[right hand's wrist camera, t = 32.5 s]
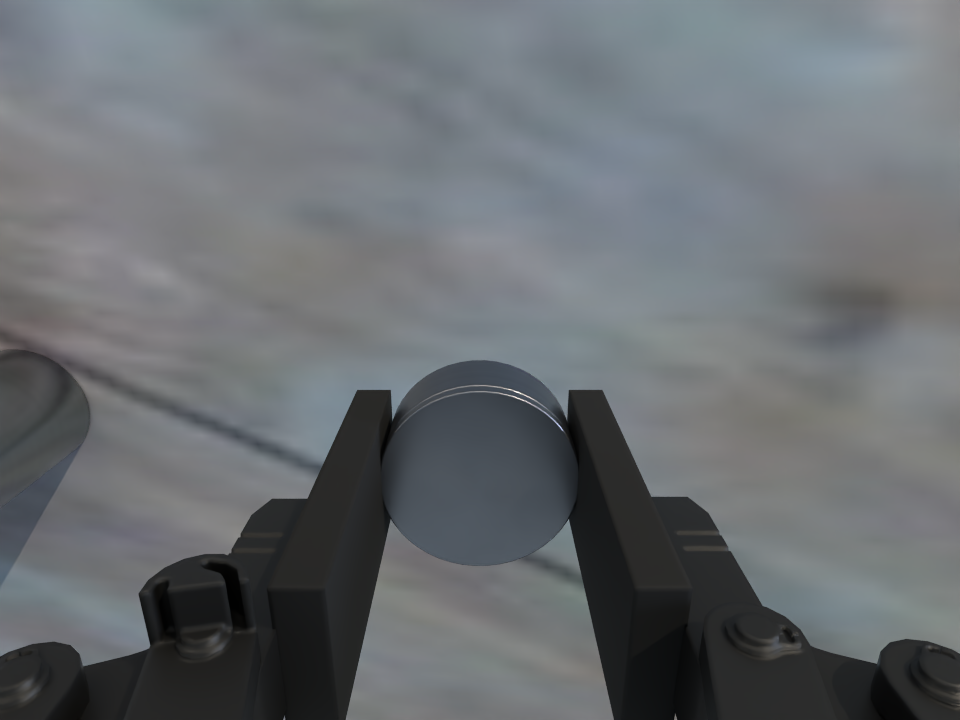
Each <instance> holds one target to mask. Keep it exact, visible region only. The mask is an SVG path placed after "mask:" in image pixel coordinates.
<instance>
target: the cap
mask: <svg viewBox="0 0 960 720" xmlns="http://www.w3.org/2000/svg"><path fill="white" fill-rule="evenodd" d="M578 475H579V462H578V459H577V455H576V451H575V448H574V444H573V441H572V437H571V434H570V431H569V427H568V424H567V420H566V417H565V415H564V412H563V410H562V407H561V406H560V404H559V402H558V401H557V399H556V398H555V396H554V395H553V394H552V393H551V391H550V390H549V389H548V388H547V387H546V386H545V385H544V384H543V383H542V382H540V381H539V380H538V379H536V378H535V377H534V376H532V375H531V374H529V373H527V372H525V371H523V370H521V369H519V368H516V367H514V366H511V365H508V364H504V363H500V362H494V361H485V360H482V361H466V362H459V363H456V364H452V365H448V366H446V367H443V368H441V369H438V370H436V371H434V372H433V373H431V374H429V375H427V376H426V377H425V378H423V379H422V380H421V381H419V382H418V383H417V384H416V385H415V386H414V387H413V388H412V389H411V390H410V391H409V392H408V393H407V395H406V396H405V397H404V398H403V400H402V401H401V403H400V405H399V407H398V409H397V411H396V413H395V416H394V419H393V422H392V425H391V429H390V432H389V435H388V439H387V442H386V446H385V449H384V453H383V456H382V461H381V482H382V497H383V503H384V505H385V508H386V510H387V512H388V514H389V516H390V518H391V520H392V521H393V523H394V524H395V526H396V527H397V528H398V529H399V531H400V532H401V533H402V534H403V535H404V536H405V537H406V538H407V539H408V540H409V541H411V542H412V543H413V544H414V545H416V546H417V547H418V548H420V549H422V550H423V551H425V552H427V553H428V554H431V555H433V556H435V557H437V558H440V559H443V560H446V561H449V562H453V563H457V564H462V565H472V566H488V565H497V564H502V563H507V562H511V561H514V560H517V559H520V558H523V557H525V556H527V555H529V554H531V553H533V552H535V551H536V550H538V549H539V548H541V547H543V546H544V545H545V544H546V543H548V542H549V541H550V540H551V539H553V538H554V537H555V535H556V534H557V533H558V532H559V531H560V530H561V529H562V528H563V526H564V525H565V523H566V522H567V521H568V519H569V517H570V515H571V513H572V511H573V509H574V507H575V504H576V501H577V491H578Z"/></svg>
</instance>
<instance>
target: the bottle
mask: <svg viewBox="0 0 960 720" xmlns="http://www.w3.org/2000/svg"><path fill="white" fill-rule="evenodd" d="M89 423H90V413H89V407H88V403H87V400H86V397H85V395H84V393H83V391H82V389H81V387H80V386H79V385H78V383H77V382H76V380H75V379H74V378H73V377H72V376H71V375H70V374H69V373H68V372H67V371H66V370H65V369H64V368H62V367H61V366H60V365H58V364H57V363H55V362H54V361H52V360H50V359H48V358H46V357H44V356H42V355H39V354H36V353H34V352H29V351H25V350H2V351H0V508H2V507H3V506H4V505H6V504H7V503H8V502H9V501H11V500H12V499H13V498H15V497H16V496H17V495H18V494H20V493H21V492H22V491H23V490H25V489H26V488H27V487H29V486H30V485H31V484H32V483H34V482H35V481H36V480H38V479H39V478H40V477H41V476H43V475H44V474H45V473H46V472H48V471H49V470H50V469H52V468H53V467H54V466H55V465H57V464H58V463H59V462H61V461H62V460H63V459H64V458H66V457H67V456H68V455H69V454H71V453H72V452H73V451H74V450H76V449H77V448H78V447H79V446H80V445H81V443H82V442H83V440H84V439H85V437H86V434H87V432H88V428H89Z"/></svg>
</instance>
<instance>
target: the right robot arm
mask: <svg viewBox="0 0 960 720" xmlns="http://www.w3.org/2000/svg"><path fill="white" fill-rule="evenodd" d="M567 424H568V427H569V431H570V434H571V437H572V441H573V444H574V448H575V451H576V455H577V459H578V462H579V475H578V491H577V501H576V504H575V507H574V509H573V511H572V513H571V515H570V517H569V521H570V525H571V530H572V534H573V539H574V543H575V548H576V552H577V557H578V561H579V566H580V570H581V574H582V579H583V583H584V588H585V592H586V597H587V601H588V606H589V610H590V615H591V619H592V623H593V628H594V632H595V637H596V641H597V646H598V650H599V655H600V659H601V664H602V668H603V672H604V677H605V681H606V686H607V690H608V695H609V699H610V704H611V708H612V713H613V717H614V720H674V717H675V714H676V717H677V720H960V654H959V653H957V652H956V651H954V650H952V649H949V648H946V647H943V646H940V645H937V644H934V643H931V642H928V641H919V640H910V639H904V640H900V641H895V642H890V643H889V644H888V645H887V646H886V647H885V648H884V649H883V650H882V651H881V652H880V656H879V659H878V663H877V664H875V663H871V662H866V661H862V660H858V659H854V658H850V657H846V656H841V655H837V654H833V653H830V652H826V651H823V650H820V649H817V648H814V647H812V646H810V644H809V643H808V641H807V639H806V638H805V636H804V635H803V633H802V631H801V630H800V629H799V628H798V627H797V626H795V625H794V624H793V623H792V622H791V621H790V620H788V619H787V618H786V617H785V616H783V615H781V614H779V613H777V612H775V611H773V610H771V609H769V608H767V607H764V606H762V604H761V602H760V601H759V599H758V597H757V596H756V594H755V592H754V591H753V589H752V587H751V585H750V584H749V582H748V580H747V579H746V577H745V575H744V573H743V572H742V570H741V568H740V567H739V565H738V563H737V561H736V560H735V558H734V556H733V555H732V553H731V551H728V546H727V544H726V543H725V541H724V539H723V538H722V536H721V535H719V531H718V529H717V527H716V526H715V524H714V522H713V520H712V519H711V517H710V515H709V514H708V512H706V511H705V510H704V509H702V508H701V507H700V506H699V505H697V504H696V503H695V502H693V501H692V500H691V499H690V498H688V497H651V495H650V493H649V491H648V489H647V487H646V485H645V482H644V480H643V478H642V476H641V474H640V471H639V469H638V467H637V465H636V463H635V460H634V458H633V456H632V454H631V452H630V450H629V447H628V445H627V443H626V441H625V439H624V436H623V434H622V432H621V430H620V428H619V426H618V423H617V421H616V419H615V417H614V415H613V412H612V410H611V408H610V406H609V404H608V401H607V399H606V397H605V395H604V393H603V391H602V390H569V398H568V417H567ZM391 425H392V406H391V390H357V392H356V394H355V396H354V398H353V401H352V403H351V405H350V407H349V409H348V411H347V414H346V416H345V418H344V420H343V422H342V425H341V427H340V429H339V431H338V433H337V435H336V438H335V440H334V442H333V444H332V446H331V449H330V451H329V453H328V455H327V457H326V460H325V462H324V464H323V466H322V468H321V470H320V473H319V475H318V477H317V479H316V481H315V484H314V486H313V488H312V490H311V492H310V494H309V497H308V499H271V500H270V501H269V502H268V503H266V504H265V505H264V506H263V507H261V508H260V509H259V510H257V511H256V512H255V513H254V514H252V515H251V517H250V519H249V520H248V522H247V524H246V526H245V527H244V529H243V531H242V533H241V537H240V538H238V539H237V541H236V543H235V545H234V546H233V548H232V552H231V553H229V555H225V554H204V555H199V556H195V557H191V558H186V559H183V560H181V561H179V562H176V563H174V564H172V565H170V566H168V567H165V568H164V569H162V570H161V571H160V572H158V573H157V574H156V575H154V576H153V577H152V578H150V579H149V580H148V581H147V583H146V584H145V586H144V587H143V588H142V590H141V591H140V593H139V598H140V602H141V606H142V611H143V615H144V619H145V624H146V628H147V632H148V637H149V641H150V648H149V649H147V650H145V651H142V652H138V653H135V654H132V655H129V656H125V657H121V658H117V659H113V660H108V661H104V662H100V663H96V664H92V665H88V666H84V667H83V665H82V661H81V658H80V654H79V653H78V652H77V651H76V650H75V649H74V648H73V647H72V646H71V645H67V644H62V643H57V642H47V643H38V644H31V645H28V646H26V647H23V648H20V649H17V650H14V651H11V652H8V653H6V654H4V655H3V656H1V657H0V720H283V718H284V715H285V720H346V715H347V711H348V706H349V702H350V697H351V693H352V688H353V684H354V679H355V675H356V671H357V666H358V662H359V657H360V653H361V648H362V644H363V639H364V635H365V631H366V626H367V622H368V617H369V613H370V608H371V604H372V599H373V595H374V590H375V586H376V582H377V577H378V573H379V568H380V564H381V559H382V555H383V550H384V546H385V541H386V537H387V533H388V528H389V524H390V519H391V518H390V516H389V514H388V512H387V510H386V508H385V505H384V503H383V497H382V482H381V461H382V456H383V453H384V449H385V446H386V442H387V439H388V435H389V432H390V429H391Z"/></svg>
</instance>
